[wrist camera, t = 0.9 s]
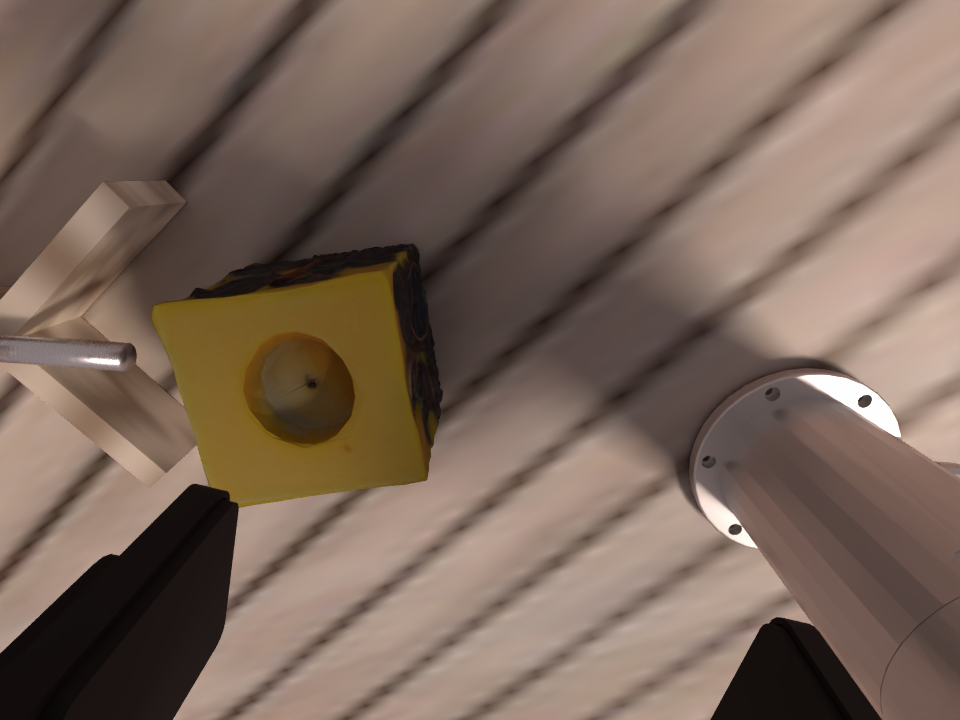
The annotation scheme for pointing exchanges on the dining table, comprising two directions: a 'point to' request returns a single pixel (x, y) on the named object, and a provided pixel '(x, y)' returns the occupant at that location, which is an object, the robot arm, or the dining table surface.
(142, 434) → the centring jig
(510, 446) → the dining table surface
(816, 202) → the dining table surface
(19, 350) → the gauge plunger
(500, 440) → the dining table surface
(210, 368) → the candle
